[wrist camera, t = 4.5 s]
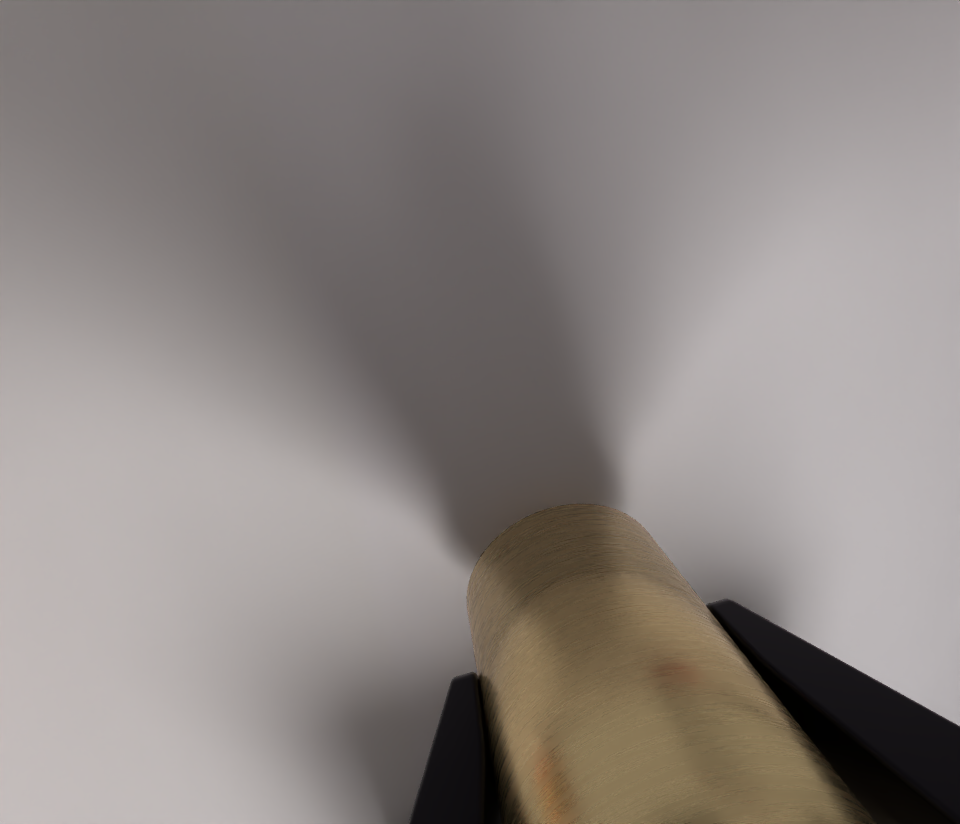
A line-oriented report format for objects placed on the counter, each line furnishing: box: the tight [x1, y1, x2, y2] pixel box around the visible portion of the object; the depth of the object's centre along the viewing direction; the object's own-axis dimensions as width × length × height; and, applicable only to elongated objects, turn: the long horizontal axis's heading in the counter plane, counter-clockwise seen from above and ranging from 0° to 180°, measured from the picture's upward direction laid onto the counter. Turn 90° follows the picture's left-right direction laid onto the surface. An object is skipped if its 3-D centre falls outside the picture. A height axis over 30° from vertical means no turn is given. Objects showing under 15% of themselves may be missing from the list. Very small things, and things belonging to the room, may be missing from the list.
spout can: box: [467, 504, 877, 824], centre depth 6 cm, size 4×4×8 cm
